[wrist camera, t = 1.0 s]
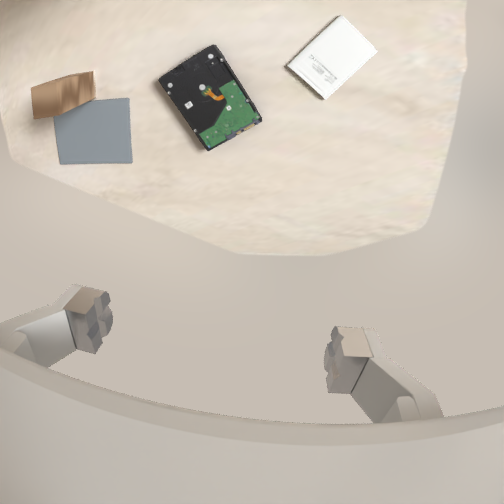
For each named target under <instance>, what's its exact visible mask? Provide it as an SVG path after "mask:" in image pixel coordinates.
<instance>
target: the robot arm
mask: <svg viewBox="0 0 504 504" xmlns="http://www.w3.org/2000/svg"><path fill="white" fill-rule="evenodd" d="M109 303H110V297H109V294H108V293H107V292H106V291H102V290H98V289H94V288H89V287H86V286H81V285H77V284H72V285H71V286H70V287H69V288H68V289H67V290H66V291H65V292H64V293H63V294H62V295H61V296H60V297H59V298H58V299H57V300H56V301H55V302H54V303H53V305H52V306H50V305H47V306H44V307H42V308H39V309H36V310H33V311H31V312H28V313H25V314H23V315H20V316H17V317H15V318H12V319H10V320H7V321H4V322H2V323H0V504H504V406H501V407H497V408H492V409H488V410H483V411H478V412H473V413H467V414H461V415H455V416H448V417H444V415H443V413H442V410H441V408H440V405H439V403H438V400H437V398H436V396H435V394H434V393H433V392H432V391H431V390H429V389H428V388H427V387H426V386H424V385H423V384H422V383H421V382H419V381H418V380H417V379H416V378H414V377H413V376H412V375H411V374H409V373H408V372H407V371H406V370H404V369H403V368H402V367H401V366H399V365H398V364H397V363H396V362H394V361H393V360H392V359H391V358H387V357H386V354H385V352H384V349H383V347H382V344H381V341H380V339H379V336H378V334H377V331H376V330H375V329H374V328H352V327H339V326H335V327H334V328H333V330H332V333H331V339H332V341H331V342H330V343H329V344H327V347H326V350H325V356H324V368H325V370H326V371H327V372H328V375H327V378H326V381H327V388H328V393H342V394H351V396H352V397H353V398H354V400H355V401H356V402H357V403H358V405H359V406H360V407H361V408H362V409H363V411H364V412H365V413H366V414H367V416H368V417H369V418H370V419H371V421H372V422H373V424H372V423H371V424H314V423H312V424H311V423H293V422H280V421H268V420H258V419H249V418H241V417H233V416H227V415H220V414H213V413H207V412H202V411H196V410H191V409H185V408H180V407H176V406H171V405H166V404H162V403H157V402H153V401H149V400H145V399H141V398H137V397H133V396H129V395H126V394H123V393H119V392H115V391H112V390H109V389H106V388H102V387H99V386H96V385H93V384H90V383H87V382H84V381H81V380H78V379H75V378H72V377H70V376H67V375H64V374H61V373H59V372H56V371H54V370H51V369H49V368H48V367H50V366H51V365H53V364H55V363H56V362H58V361H59V360H61V359H63V358H64V357H66V356H67V355H69V354H71V353H72V352H74V351H76V349H78V350H82V351H85V352H89V353H93V354H96V352H97V351H98V349H99V347H100V346H101V344H102V343H103V342H102V337H104V336H106V335H108V333H109V332H110V330H111V326H112V323H113V316H112V311H111V309H110V308H109V307H108V304H109Z"/></svg>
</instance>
